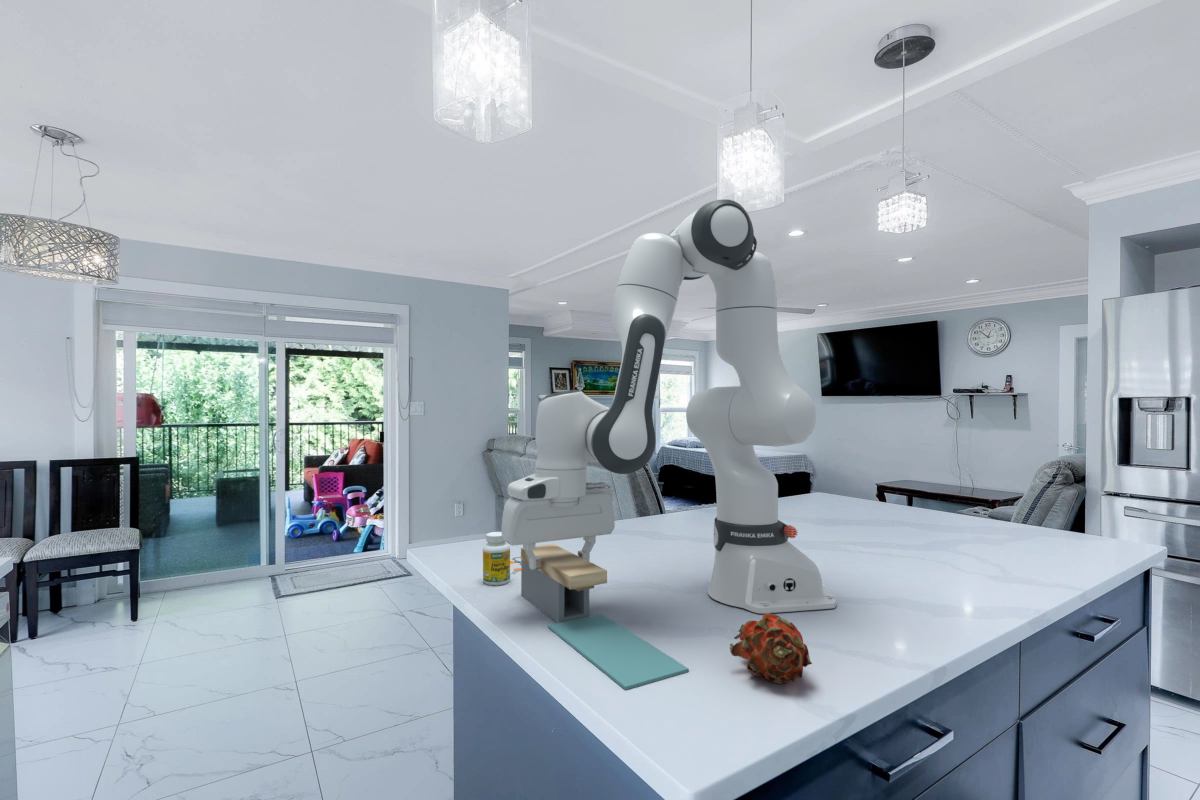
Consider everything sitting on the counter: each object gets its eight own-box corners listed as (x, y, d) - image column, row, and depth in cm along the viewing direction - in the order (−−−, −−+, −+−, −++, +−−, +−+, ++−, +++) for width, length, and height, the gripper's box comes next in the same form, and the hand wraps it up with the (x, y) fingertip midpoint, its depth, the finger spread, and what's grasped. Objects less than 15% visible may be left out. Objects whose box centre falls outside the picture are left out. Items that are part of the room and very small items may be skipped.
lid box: (589, 617, 96) (589, 575, 96) (558, 623, 93) (558, 580, 93) (548, 590, 109) (548, 553, 109) (521, 595, 107) (521, 557, 107)
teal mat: (688, 671, 76) (688, 668, 76) (625, 690, 71) (625, 686, 71) (602, 616, 96) (602, 613, 96) (547, 627, 91) (547, 624, 91)
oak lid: (607, 588, 91) (607, 570, 91) (570, 594, 88) (570, 576, 88) (553, 558, 109) (553, 543, 109) (520, 563, 106) (520, 548, 106)
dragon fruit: (798, 714, 69) (743, 683, 80) (840, 662, 72) (781, 639, 83) (757, 660, 68) (707, 636, 79) (801, 609, 71) (747, 593, 82)
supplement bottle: (503, 576, 118) (503, 529, 118) (514, 583, 114) (514, 534, 114) (478, 580, 115) (478, 532, 115) (489, 587, 111) (489, 538, 111)
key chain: (498, 560, 131) (498, 557, 131) (529, 557, 134) (529, 554, 134) (509, 576, 119) (509, 572, 119) (543, 573, 122) (543, 569, 122)
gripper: (603, 479, 107) (603, 553, 106) (498, 485, 96) (497, 568, 96) (621, 483, 101) (621, 561, 101) (512, 490, 91) (511, 578, 91)
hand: (559, 565), depth 98 cm, fingers open, 8 cm apart
